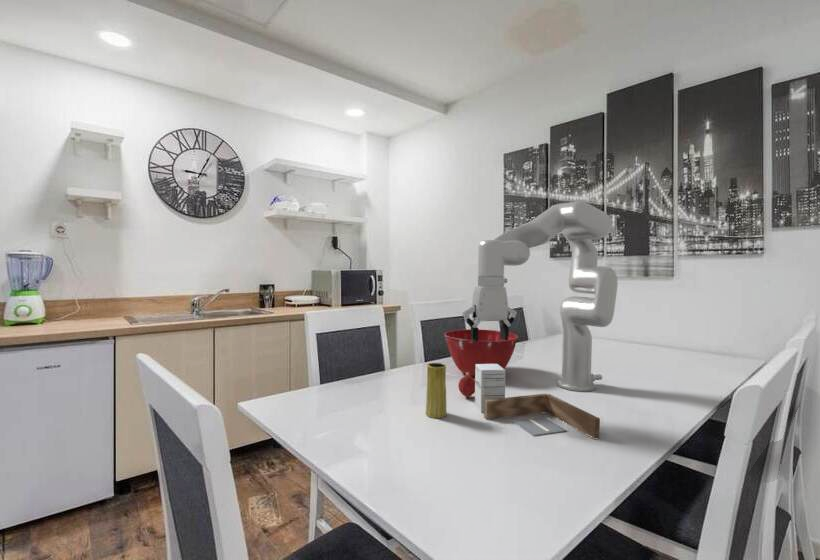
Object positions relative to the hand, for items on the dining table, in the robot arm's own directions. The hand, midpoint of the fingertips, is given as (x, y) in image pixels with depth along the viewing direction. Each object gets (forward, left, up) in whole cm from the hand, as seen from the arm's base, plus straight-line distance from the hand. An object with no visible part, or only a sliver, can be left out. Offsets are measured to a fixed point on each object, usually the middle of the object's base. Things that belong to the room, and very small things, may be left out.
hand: (489, 340), depth 122 cm
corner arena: (-5, +17, -21) cm, 27 cm away
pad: (-6, +16, -21) cm, 27 cm away
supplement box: (0, 0, -21) cm, 21 cm away
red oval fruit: (+2, -11, -21) cm, 24 cm away
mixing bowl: (-16, -37, -21) cm, 45 cm away
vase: (+17, 0, -21) cm, 27 cm away
